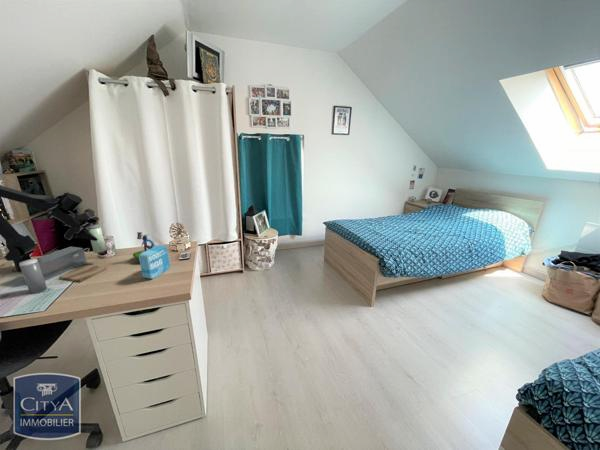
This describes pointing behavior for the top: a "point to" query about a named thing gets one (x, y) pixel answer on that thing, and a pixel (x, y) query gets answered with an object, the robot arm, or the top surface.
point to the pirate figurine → (139, 236)
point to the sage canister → (97, 232)
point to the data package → (154, 262)
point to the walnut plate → (82, 273)
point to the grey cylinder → (33, 276)
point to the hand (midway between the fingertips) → (100, 238)
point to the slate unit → (61, 261)
